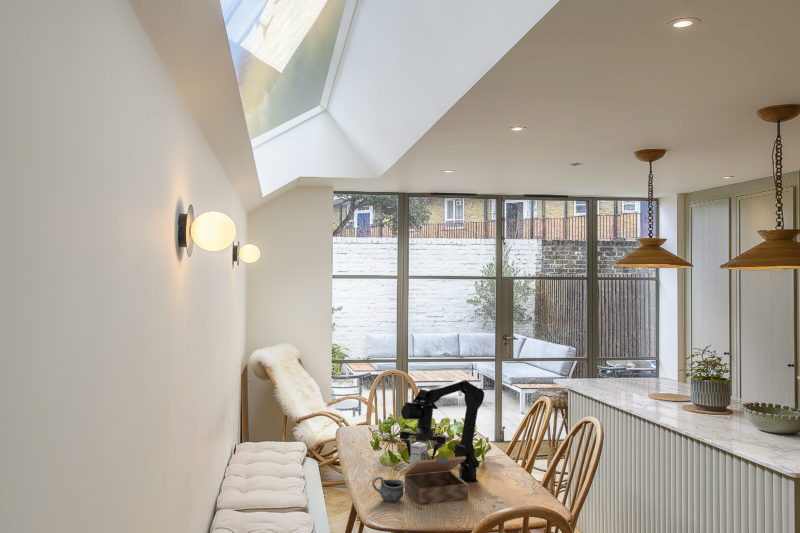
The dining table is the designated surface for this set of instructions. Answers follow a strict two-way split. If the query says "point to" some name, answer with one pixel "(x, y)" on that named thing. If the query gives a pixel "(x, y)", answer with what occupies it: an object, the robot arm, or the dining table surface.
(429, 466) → the lid
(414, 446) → the syrup box
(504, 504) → the dining table surface
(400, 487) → the mug
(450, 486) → the crate
